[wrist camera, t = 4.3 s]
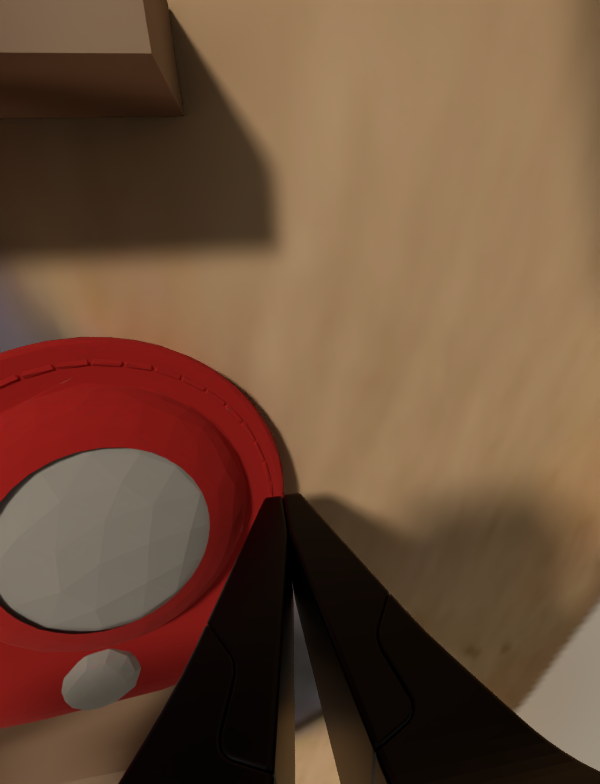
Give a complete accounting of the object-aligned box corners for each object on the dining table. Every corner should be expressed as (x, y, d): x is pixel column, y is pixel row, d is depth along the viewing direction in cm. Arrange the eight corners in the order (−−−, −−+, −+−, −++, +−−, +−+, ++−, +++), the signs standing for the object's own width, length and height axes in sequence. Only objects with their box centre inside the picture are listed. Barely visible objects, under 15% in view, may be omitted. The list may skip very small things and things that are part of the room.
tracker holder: (333, 348, 8) (271, 733, 9) (267, 337, 12) (231, 608, 13) (-1056, 147, 3) (-720, 1086, 4) (-347, 248, 7) (-300, 708, 8)
